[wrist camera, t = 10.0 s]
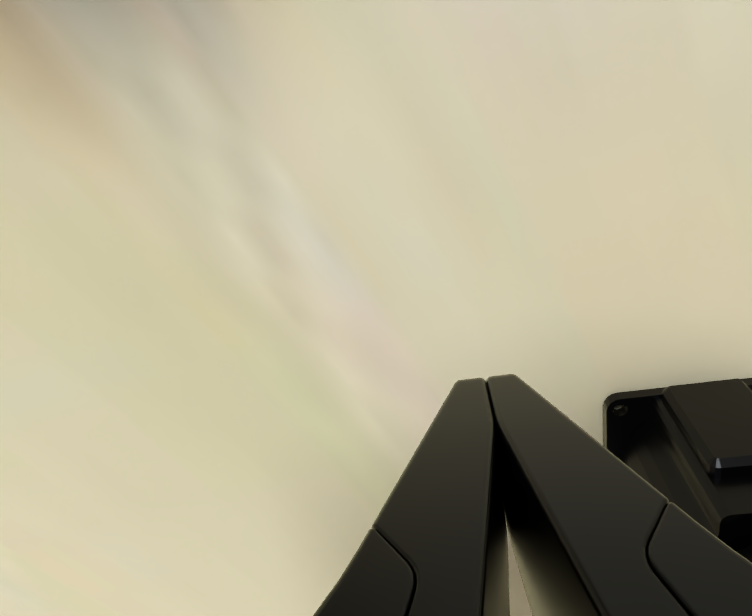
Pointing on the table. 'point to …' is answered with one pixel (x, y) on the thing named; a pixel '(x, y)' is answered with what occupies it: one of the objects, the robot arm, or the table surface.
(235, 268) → the table surface
